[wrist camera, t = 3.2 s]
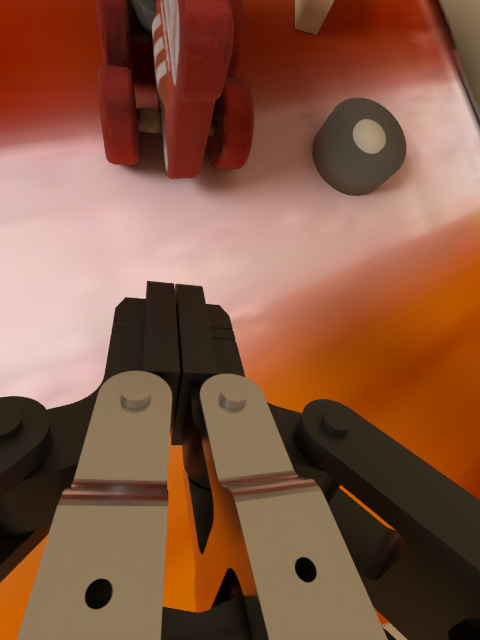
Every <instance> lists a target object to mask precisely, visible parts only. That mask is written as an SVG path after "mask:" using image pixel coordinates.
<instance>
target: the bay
mask: <svg viewBox="0 0 480 640" xmlns="http://www.w3.org/2000/svg"><path fill="white" fill-rule="evenodd" d="M333 2H334V0H295V29H297V30H300V31H304V32H307V33H311V34H315V35H317V33H318V31H319V30H320V28H321V26H322V24H323V22H324V20H325V18H326V16H327V14H328V12H329V10H330V8H331V6H332V4H333Z"/></svg>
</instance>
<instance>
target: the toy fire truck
mask: <svg viewBox="0 0 480 640" xmlns="http://www.w3.org/2000/svg"><path fill="white" fill-rule="evenodd" d="M95 3H96V13H97V22H98V31H99V40H100V49H101V57H102V62H103V66H100V68H99V69H98V72H97V82H98V94H99V104H100V114H101V123H102V132H103V139H104V146H105V153H106V158H107V160H108V161H109V162H110V163H112V164H126V165H133V164H136V163H137V162H138V161H139V158H140V150H139V136H138V132H139V131H143V132H153V133H159V132H160V133H161V140H162V146H163V152H164V161H165V168H166V174H167V176H168V177H169V178H170V179H179V178H195V177H197V176H198V175H199V173H200V170H201V166H202V161H203V156H204V152H205V148H206V144H207V143H208V151H209V156H210V159H211V162H212V164H213V166H214V167H216V168H218V169H239V168H241V167H242V166H243V165H244V164H245V162H246V161H247V158H248V156H249V153H250V148H251V143H252V136H253V124H254V111H253V101H252V95H251V91H250V89H249V86H248V84H247V83H246V82H245V81H244V80H242V79H238V78H235V75H236V72H237V69H238V65H239V61H240V55H241V48H242V36H243V9H242V3H241V0H95ZM132 41H140V42H151V48H152V54H153V60H154V68H155V78H156V88H157V96H158V105H159V112H158V111H157V110H153V109H144V108H141V109H136V102H135V92H134V84H133V76H132V73H133V71H134V62H133V44H132Z"/></svg>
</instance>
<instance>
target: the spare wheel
mask: <svg viewBox="0 0 480 640" xmlns="http://www.w3.org/2000/svg"><path fill="white" fill-rule="evenodd" d="M405 155H406V141H405V137H404V134H403V131H402V129H401V127H400V125H399V123H398V121H397V120H396V119H395V117H394V116H393V115H392V114H391V113H390V112H389V111H388V110H387V109H386V108H384V107H383V106H381V105H380V104H378V103H376V102H374V101H372V100H369V99H364V98H351V99H348V100H345V101H343V102H341V103H340V104H339V105H338V106H337V107H336V108H335V109H334V110H333V112H332V113H331V115H330V116H329V117H328V119H327V120H326V122H325V123H324V124H323V126H322V127H321V129H320V130H319V132H318V133H317V135H316V137H315V139H314V142H313V159H314V162H315V165H316V167H317V170H318V171H319V173H320V175H321V176H322V177H323V179H324V180H325V181H326V182H327V183H328V184H329V185H330V186H332V187H333V188H334V189H336V190H338V191H339V192H342V193H344V194H348V195H353V196H360V195H365V194H368V193H370V192H372V191H373V190H375V189H376V188H377V187H378V186H380V185H381V184H382V183H383V182H384V181H386V180H387V179H388V178H389V177H390V176H392V175H393V174H394V173H395V172H396V171H397V170H398V169H399V168H400V167H401V165H402V164H403V162H404V159H405Z"/></svg>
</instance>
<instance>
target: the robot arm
mask: <svg viewBox="0 0 480 640" xmlns="http://www.w3.org/2000/svg"><path fill="white" fill-rule="evenodd" d="M232 329H233V328H232V325H231V321H230V317H229V315H228V314H227V313H226V312H225V311H224V310H223V309H222V308H221V306H220V305H212V304H206V303H205V297H204V292H203V287H202V286H195V285H184V284H176V285H175V288H174V283H164V282H153V281H147V288H146V299H139V298H127V297H126V298H125V299H124V300H123V301H122V302H121V303H120V304H119V305H118V306H117V307H116V308H115V314H114V320H113V327H112V334H111V339H110V345H109V351H108V357H107V363H106V369H105V375H104V379H103V381H102V383H101V385H100V386H99V387H98V389H97V390H96V391H94V392H93V393H92V394H91V395H89V396H88V397H86V398H84V399H82V400H80V401H78V402H75V403H72V404H69V405H65V406H60V407H56V408H52V409H48V410H46V409H45V407H44V406H43V405H42V404H40V403H39V402H37V401H35V400H33V399H30V398H26V397H19V396H9V397H1V398H0V582H1V581H2V580H3V579H4V578H5V577H6V576H7V575H8V574H9V573H10V572H11V571H12V570H13V569H14V568H15V567H16V566H17V565H18V564H19V563H20V562H21V561H22V560H23V559H24V558H25V557H26V556H27V555H28V554H29V553H30V552H31V551H32V550H33V549H34V548H35V547H36V546H37V545H38V544H39V543H40V542H41V541H42V540H43V539H44V538H45V537H46V536H47V535H48V534H49V535H48V538H47V541H46V545H45V548H44V551H43V555H42V558H41V561H40V564H39V568H38V571H37V574H36V578H35V581H34V584H33V588H32V591H31V594H30V598H29V601H28V604H27V607H26V611H25V614H24V617H23V621H22V624H21V627H20V631H19V634H18V637H17V640H396V639H395V638H394V637H393V636H392V635H391V634H390V633H389V632H388V631H386V630H385V629H384V628H383V627H382V625H381V623H380V621H379V619H378V616H377V614H376V612H375V610H374V608H375V609H376V610H377V611H378V612H379V613H380V614H381V615H383V616H384V617H385V618H386V619H387V620H388V621H389V622H390V623H391V624H392V625H393V626H394V627H395V628H396V629H397V630H398V631H399V632H400V633H401V634H402V635H403V636H404V637H405V638H407V639H408V640H480V500H479V499H477V498H476V497H474V496H473V495H472V494H470V493H469V492H467V491H466V490H464V489H463V488H462V487H460V486H459V485H457V484H456V483H455V482H453V481H452V480H450V479H449V478H447V477H446V476H445V475H443V474H442V473H440V472H439V471H437V470H436V469H435V468H433V467H432V466H430V465H429V464H428V463H426V462H425V461H423V460H422V459H420V458H419V457H418V456H416V455H415V454H413V453H412V452H411V451H409V450H408V449H406V448H405V447H403V446H402V445H401V444H399V443H398V442H396V441H395V440H394V439H392V438H391V437H389V436H388V435H386V434H385V433H384V432H382V431H381V430H379V429H378V428H376V427H375V426H374V425H372V424H371V423H369V422H368V421H367V420H365V419H364V418H362V417H361V416H359V415H358V414H357V413H355V412H354V411H352V410H351V409H349V408H348V407H346V406H345V405H343V404H341V403H338V402H335V401H332V400H326V399H319V400H314V401H312V402H310V403H308V404H307V405H306V406H305V408H304V410H303V412H302V413H299V412H295V411H292V410H288V409H284V408H281V407H277V406H274V405H272V404H270V403H267V401H266V399H265V396H264V394H263V392H262V391H261V389H260V388H259V387H258V386H257V385H256V384H255V383H254V382H252V381H251V380H249V379H247V378H245V374H244V370H243V366H242V362H241V359H240V355H239V351H238V347H237V343H236V341H235V336H234V332H233V331H232ZM170 432H171V445H182V449H183V463H184V471H183V479H184V486H185V493H186V500H187V507H188V514H189V521H190V528H191V536H192V543H193V550H194V557H195V604H196V612H189V611H183V610H178V609H172V608H167V607H163V589H164V571H165V553H166V535H167V518H168V490H167V473H168V457H169V440H170ZM340 485H342V486H343V487H344V488H345V489H347V490H348V491H349V492H350V493H352V494H353V495H354V496H355V497H356V498H358V499H359V500H360V501H361V502H362V503H364V504H365V505H366V506H367V507H369V508H370V509H371V510H372V511H373V512H375V513H376V514H377V515H378V516H379V517H381V518H382V519H383V520H384V521H385V522H387V523H388V524H389V525H390V526H392V527H393V528H394V529H395V530H392V529H390V528H388V527H386V526H385V525H383V524H382V523H381V522H380V521H378V520H377V519H376V518H375V517H374V516H372V515H371V514H370V513H369V512H368V511H366V510H365V509H364V508H363V507H362V506H360V505H359V504H358V503H357V502H356V501H354V500H353V499H352V498H351V497H349V496H348V495H347V494H346V493H345V492H343V491H342V490H341V489H340V488H339V487H340Z"/></svg>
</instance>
